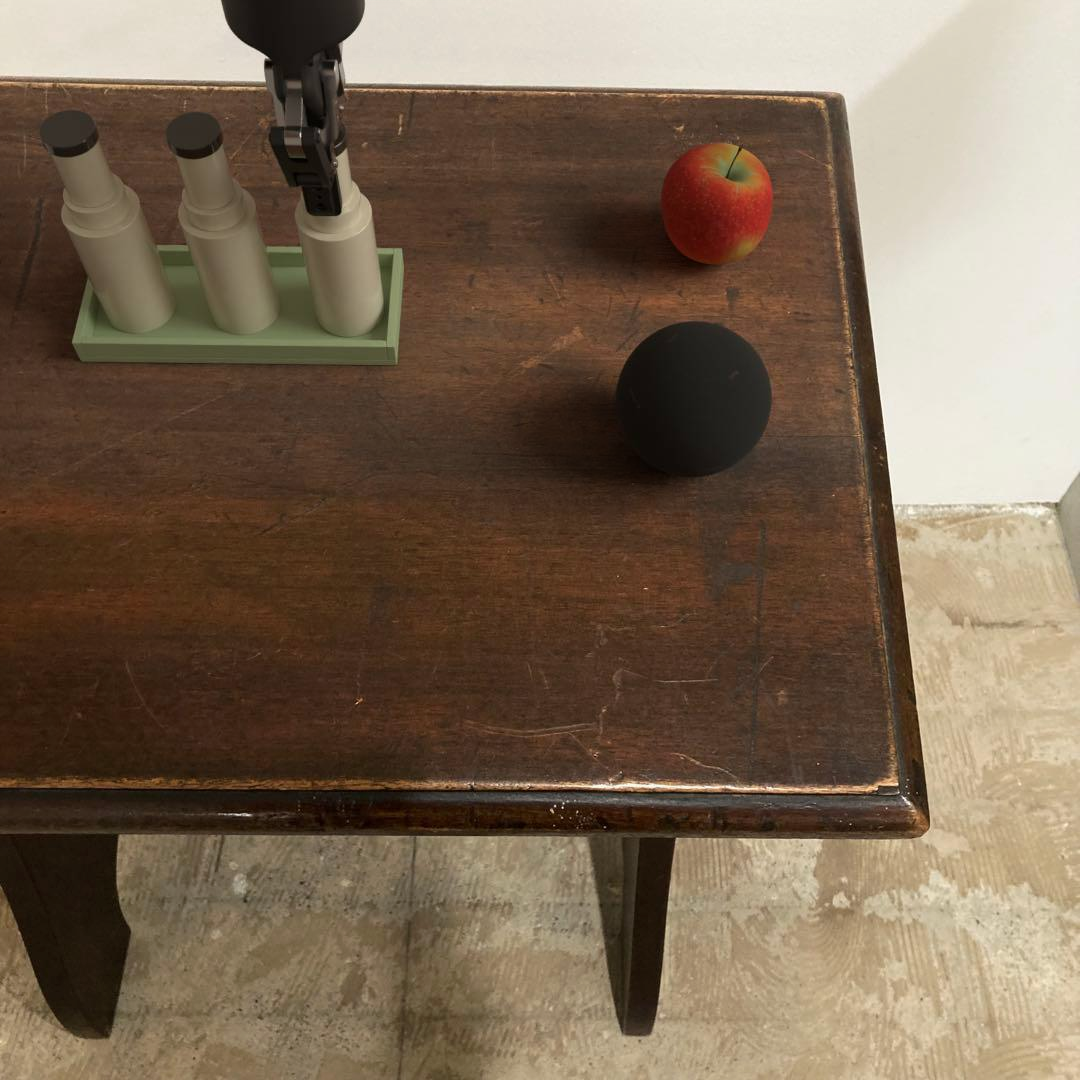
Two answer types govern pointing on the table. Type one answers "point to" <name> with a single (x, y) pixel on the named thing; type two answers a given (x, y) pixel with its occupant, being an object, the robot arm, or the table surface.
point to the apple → (716, 203)
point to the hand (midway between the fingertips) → (327, 189)
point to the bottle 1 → (107, 227)
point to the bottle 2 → (222, 229)
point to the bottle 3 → (343, 257)
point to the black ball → (693, 399)
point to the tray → (279, 343)
